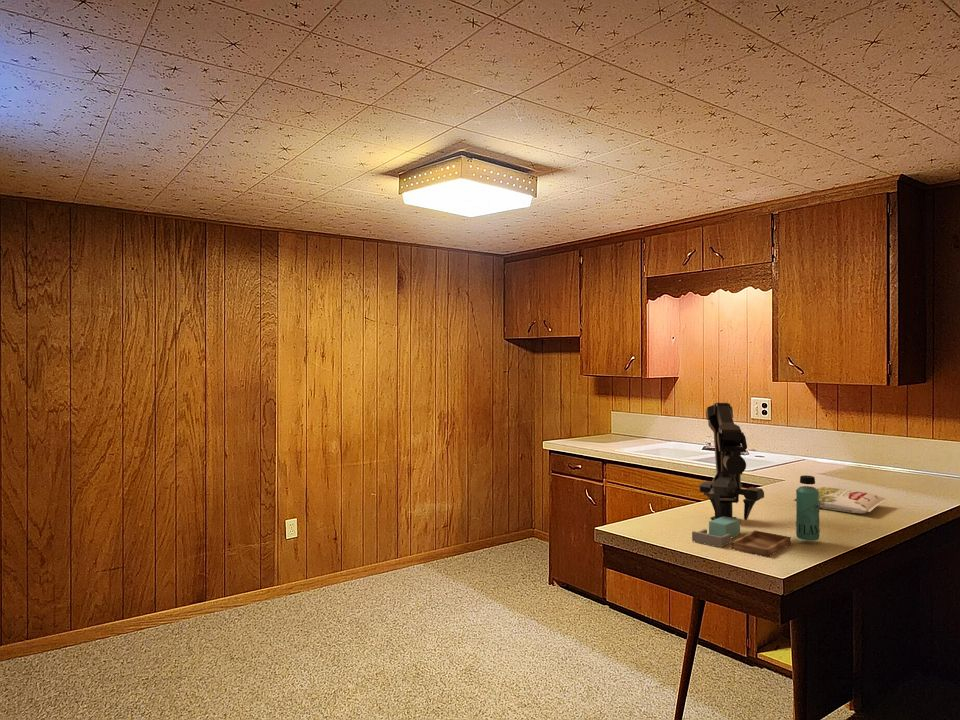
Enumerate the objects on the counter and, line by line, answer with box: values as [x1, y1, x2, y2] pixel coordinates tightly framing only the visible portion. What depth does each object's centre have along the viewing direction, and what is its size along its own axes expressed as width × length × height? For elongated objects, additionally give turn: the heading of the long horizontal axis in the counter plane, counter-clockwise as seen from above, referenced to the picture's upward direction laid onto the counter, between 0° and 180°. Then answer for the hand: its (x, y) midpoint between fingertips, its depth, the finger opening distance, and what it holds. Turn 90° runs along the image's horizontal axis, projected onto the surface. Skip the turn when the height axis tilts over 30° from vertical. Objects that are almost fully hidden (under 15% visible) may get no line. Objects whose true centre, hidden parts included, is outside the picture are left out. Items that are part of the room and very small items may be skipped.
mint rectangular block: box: [708, 516, 741, 538], centre depth 204 cm, size 10×6×5 cm, turn 131°
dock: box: [691, 528, 732, 548], centre depth 197 cm, size 7×9×3 cm
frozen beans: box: [792, 486, 887, 514], centre depth 235 cm, size 21×6×25 cm
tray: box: [730, 530, 792, 558], centre depth 192 cm, size 17×11×2 cm, turn 134°
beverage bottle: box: [795, 475, 821, 542], centre depth 195 cm, size 6×7×20 cm
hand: (731, 517), depth 206 cm, fingers open, 9 cm apart
